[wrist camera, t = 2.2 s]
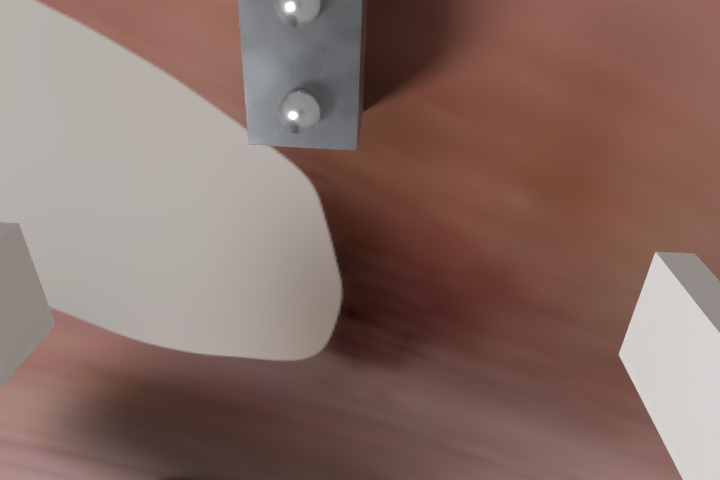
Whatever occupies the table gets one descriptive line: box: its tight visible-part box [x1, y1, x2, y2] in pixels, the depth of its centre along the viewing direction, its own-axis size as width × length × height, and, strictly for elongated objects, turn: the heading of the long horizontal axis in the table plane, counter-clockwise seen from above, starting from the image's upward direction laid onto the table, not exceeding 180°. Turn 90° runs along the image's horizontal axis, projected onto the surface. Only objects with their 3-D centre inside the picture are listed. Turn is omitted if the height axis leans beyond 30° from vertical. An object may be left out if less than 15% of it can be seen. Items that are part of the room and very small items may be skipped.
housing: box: [238, 0, 368, 150], centre depth 24 cm, size 5×8×7 cm, turn 178°
